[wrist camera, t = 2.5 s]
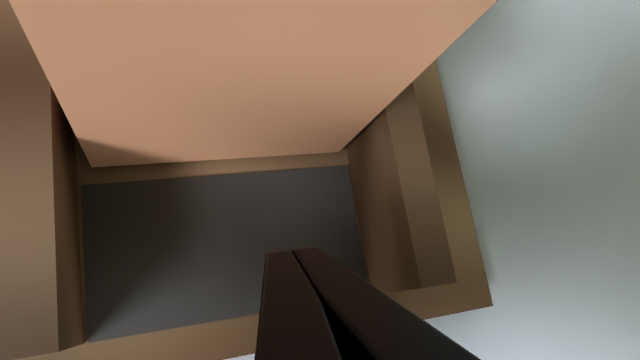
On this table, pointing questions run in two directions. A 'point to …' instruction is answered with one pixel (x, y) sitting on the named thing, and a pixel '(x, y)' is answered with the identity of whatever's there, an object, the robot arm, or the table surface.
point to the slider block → (232, 71)
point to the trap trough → (213, 227)
